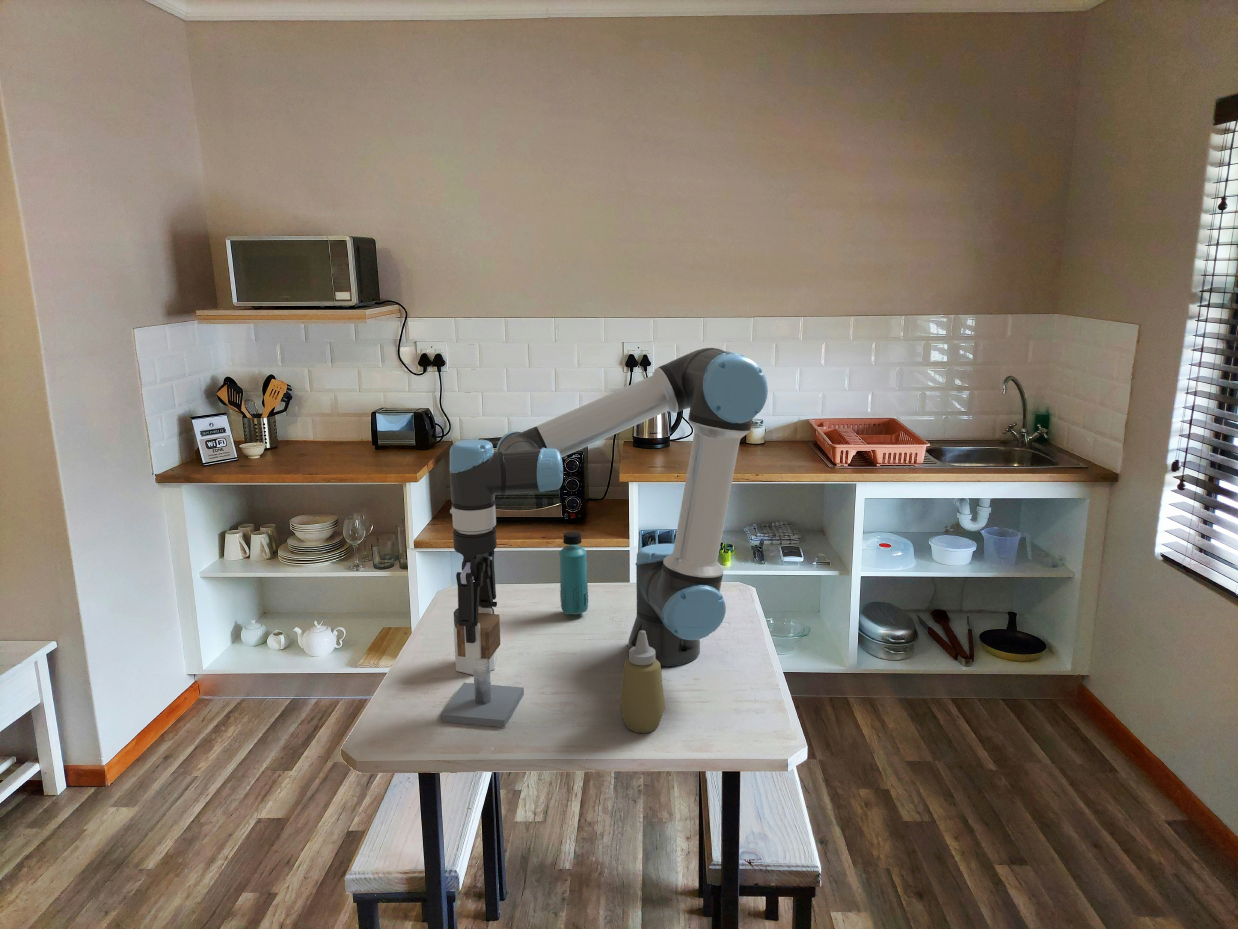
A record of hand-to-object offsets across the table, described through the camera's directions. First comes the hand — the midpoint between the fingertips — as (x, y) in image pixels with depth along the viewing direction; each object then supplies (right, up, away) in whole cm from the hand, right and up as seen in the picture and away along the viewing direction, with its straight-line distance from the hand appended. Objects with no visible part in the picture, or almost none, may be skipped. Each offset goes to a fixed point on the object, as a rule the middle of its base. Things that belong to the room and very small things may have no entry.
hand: (479, 648), depth 157 cm
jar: (-4, -8, +19) cm, 21 cm away
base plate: (0, -12, +3) cm, 12 cm away
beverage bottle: (+15, -2, +44) cm, 46 cm away
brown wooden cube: (0, 0, 0) cm, 0 cm away
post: (0, -10, +3) cm, 10 cm away
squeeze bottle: (+30, -13, -3) cm, 33 cm away
